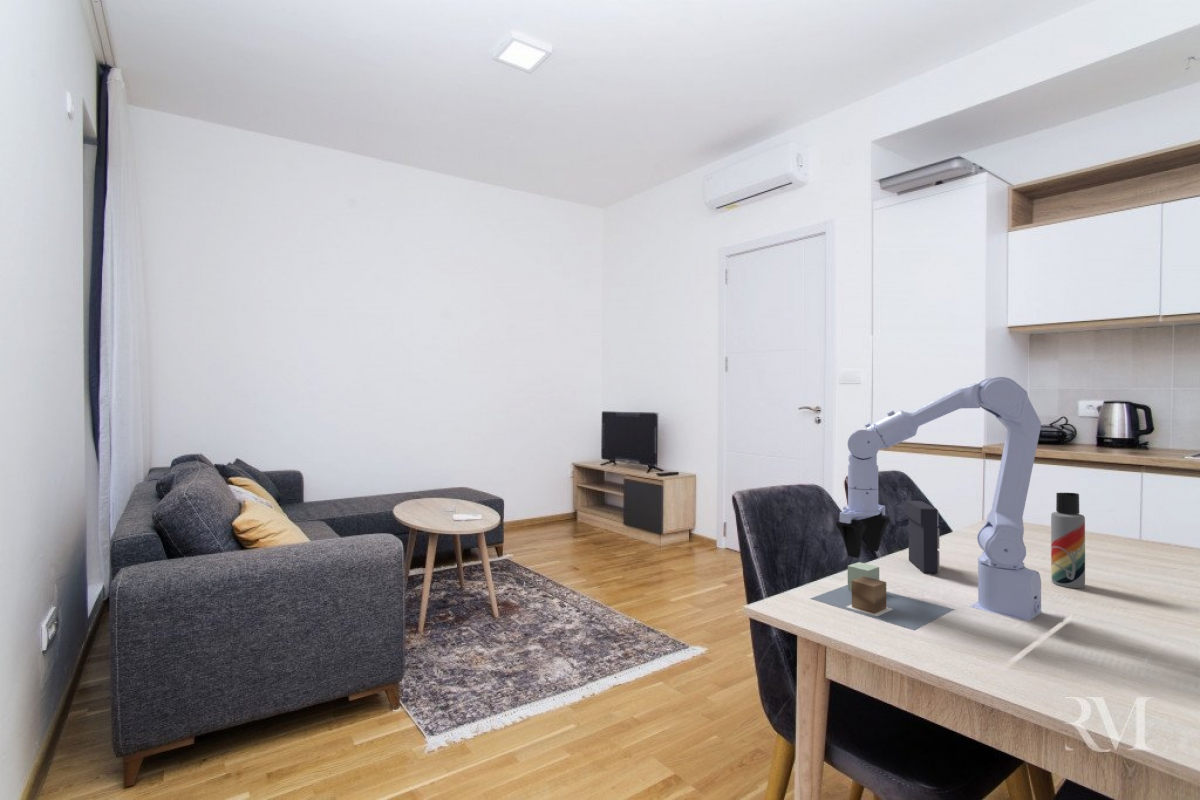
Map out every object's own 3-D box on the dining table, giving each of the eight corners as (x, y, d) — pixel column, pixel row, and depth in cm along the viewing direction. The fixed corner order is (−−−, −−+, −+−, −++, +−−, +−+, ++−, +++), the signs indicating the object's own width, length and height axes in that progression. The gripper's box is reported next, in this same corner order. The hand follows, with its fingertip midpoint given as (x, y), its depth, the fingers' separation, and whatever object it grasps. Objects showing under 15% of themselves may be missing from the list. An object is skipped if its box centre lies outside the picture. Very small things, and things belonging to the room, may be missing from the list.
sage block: (879, 591, 120) (879, 566, 120) (868, 595, 117) (868, 570, 117) (858, 585, 123) (858, 562, 123) (847, 589, 120) (847, 565, 120)
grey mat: (954, 612, 109) (954, 608, 109) (914, 633, 99) (914, 629, 99) (852, 585, 125) (852, 582, 125) (809, 601, 115) (809, 598, 115)
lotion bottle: (1056, 586, 124) (1056, 493, 124) (1047, 579, 129) (1047, 489, 129) (1089, 590, 121) (1089, 494, 121) (1079, 582, 127) (1078, 490, 127)
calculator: (941, 574, 133) (941, 509, 133) (921, 573, 133) (920, 508, 133) (924, 561, 143) (924, 500, 143) (905, 560, 144) (905, 500, 144)
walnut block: (886, 608, 109) (886, 581, 109) (874, 613, 107) (874, 586, 107) (863, 602, 113) (863, 576, 113) (851, 606, 110) (851, 580, 110)
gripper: (862, 482, 128) (862, 544, 128) (825, 488, 119) (825, 555, 119) (895, 486, 122) (895, 550, 122) (858, 493, 113) (858, 562, 113)
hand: (863, 553), depth 120 cm, fingers open, 7 cm apart
